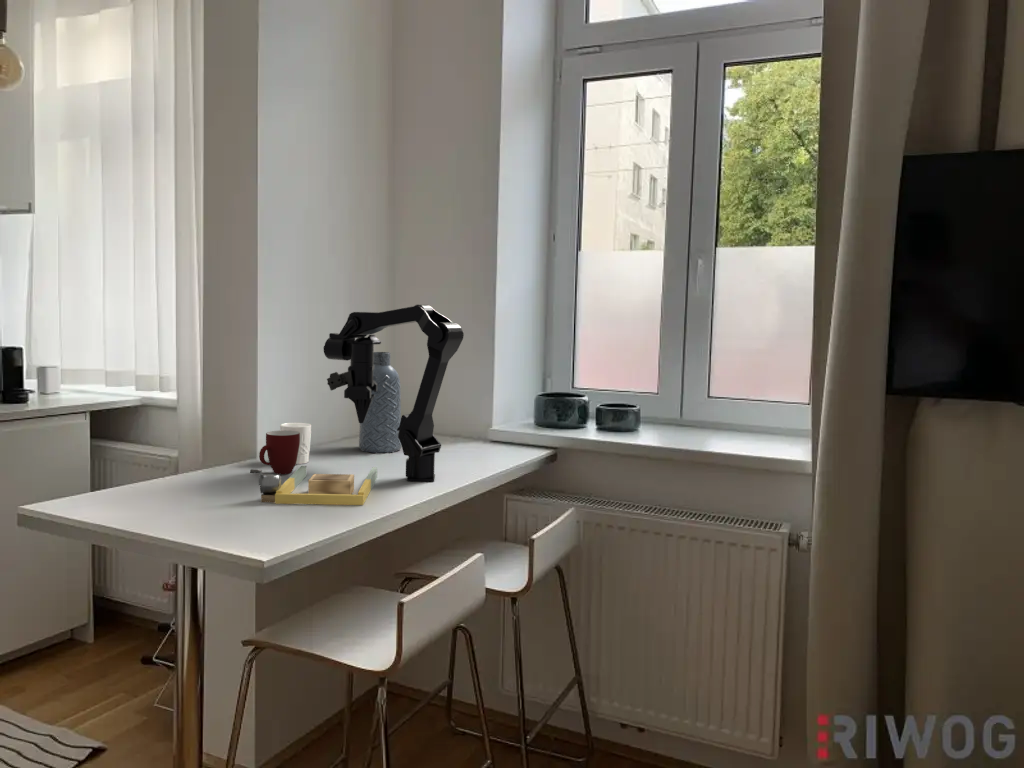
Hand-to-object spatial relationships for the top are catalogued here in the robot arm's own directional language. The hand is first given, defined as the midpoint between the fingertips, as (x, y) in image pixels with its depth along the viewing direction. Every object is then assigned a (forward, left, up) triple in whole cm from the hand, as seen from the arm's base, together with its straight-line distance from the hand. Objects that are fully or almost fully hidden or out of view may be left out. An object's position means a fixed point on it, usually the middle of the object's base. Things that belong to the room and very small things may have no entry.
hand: (361, 422), depth 211 cm
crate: (+3, +27, -12) cm, 30 cm away
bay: (+4, +23, -12) cm, 26 cm away
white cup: (+18, -8, -12) cm, 23 cm away
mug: (+19, +7, -12) cm, 24 cm away
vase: (-2, -29, -12) cm, 32 cm away
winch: (+16, +34, -12) cm, 39 cm away
